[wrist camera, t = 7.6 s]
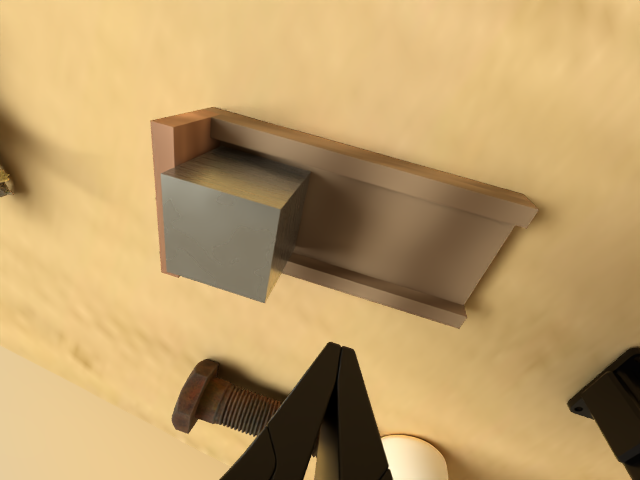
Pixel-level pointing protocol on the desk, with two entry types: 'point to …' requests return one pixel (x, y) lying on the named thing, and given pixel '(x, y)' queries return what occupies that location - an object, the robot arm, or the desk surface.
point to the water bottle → (413, 459)
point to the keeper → (232, 220)
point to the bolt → (222, 403)
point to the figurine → (0, 186)
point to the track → (364, 214)
